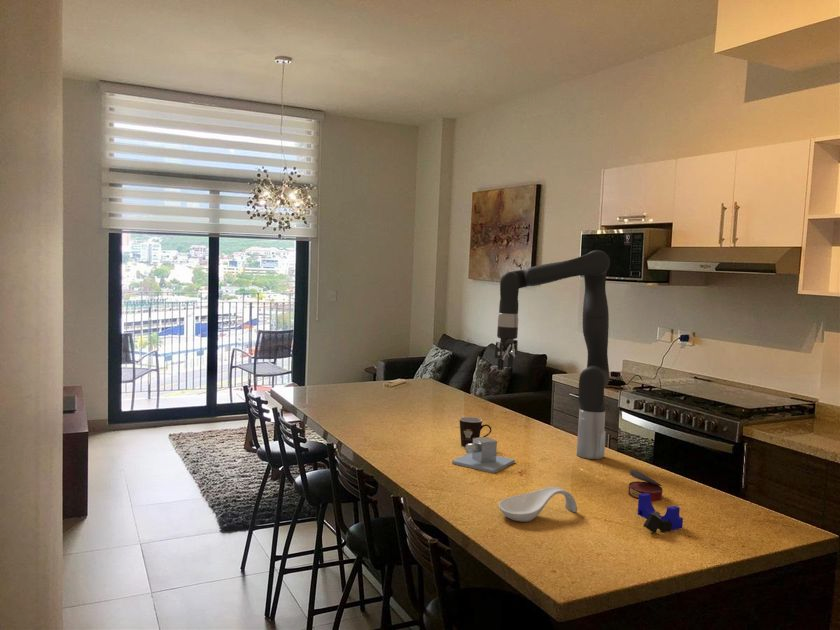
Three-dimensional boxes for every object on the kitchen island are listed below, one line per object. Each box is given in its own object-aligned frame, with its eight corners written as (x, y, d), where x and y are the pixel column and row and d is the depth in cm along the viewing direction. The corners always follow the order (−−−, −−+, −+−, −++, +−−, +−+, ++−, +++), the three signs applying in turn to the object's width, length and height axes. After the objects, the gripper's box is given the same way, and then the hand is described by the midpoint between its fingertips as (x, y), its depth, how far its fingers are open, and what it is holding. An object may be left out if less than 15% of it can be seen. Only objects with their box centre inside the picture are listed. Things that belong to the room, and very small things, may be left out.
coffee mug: (453, 445, 252) (454, 419, 252) (467, 441, 259) (469, 415, 258) (477, 451, 244) (479, 425, 244) (491, 447, 251) (493, 421, 250)
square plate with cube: (514, 462, 234) (515, 446, 233) (493, 473, 220) (494, 456, 220) (474, 453, 242) (475, 438, 242) (452, 463, 229) (452, 447, 228)
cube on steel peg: (486, 456, 235) (487, 436, 235) (495, 461, 230) (497, 441, 229) (462, 459, 231) (463, 439, 230) (471, 464, 225) (472, 443, 225)
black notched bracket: (660, 537, 178) (669, 520, 179) (665, 540, 177) (675, 523, 177) (641, 524, 176) (650, 507, 176) (646, 527, 174) (656, 510, 174)
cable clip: (682, 528, 180) (683, 507, 179) (669, 531, 178) (671, 509, 177) (649, 513, 190) (650, 492, 190) (637, 515, 188) (638, 494, 188)
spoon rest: (513, 529, 174) (514, 502, 174) (489, 513, 185) (491, 488, 184) (585, 517, 185) (586, 492, 184) (558, 503, 195) (560, 479, 195)
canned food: (627, 506, 208) (621, 474, 212) (659, 505, 207) (654, 472, 211) (635, 501, 197) (629, 467, 201) (669, 499, 197) (663, 465, 201)
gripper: (508, 327, 240) (506, 372, 241) (525, 325, 252) (522, 367, 253) (490, 325, 244) (487, 369, 245) (507, 323, 256) (504, 365, 257)
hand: (505, 368), depth 249 cm, fingers open, 8 cm apart
